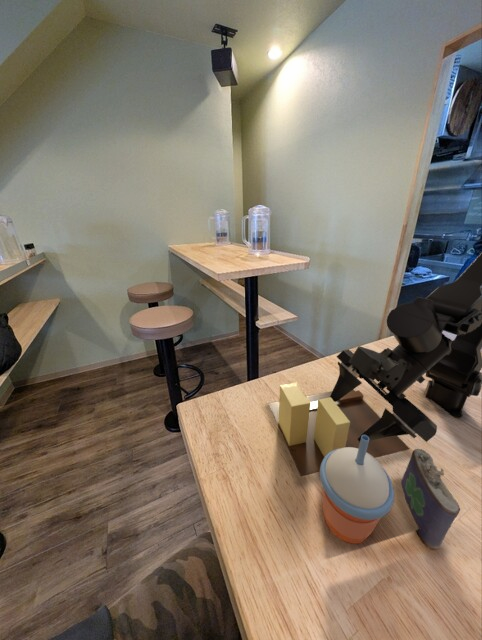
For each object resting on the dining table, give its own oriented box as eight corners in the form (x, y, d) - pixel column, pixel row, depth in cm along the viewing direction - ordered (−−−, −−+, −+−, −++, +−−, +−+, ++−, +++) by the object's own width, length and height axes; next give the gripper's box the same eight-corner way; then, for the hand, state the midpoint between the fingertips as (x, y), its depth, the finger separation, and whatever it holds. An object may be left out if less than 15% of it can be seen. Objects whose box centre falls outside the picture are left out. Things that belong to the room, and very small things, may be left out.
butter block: (294, 419, 54) (296, 382, 50) (306, 442, 49) (310, 403, 45) (278, 422, 54) (279, 385, 50) (289, 446, 48) (291, 406, 44)
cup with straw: (343, 576, 32) (368, 488, 25) (301, 506, 40) (310, 423, 33) (393, 540, 36) (428, 454, 28) (345, 482, 43) (363, 402, 36)
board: (350, 392, 64) (351, 387, 63) (408, 454, 48) (410, 448, 47) (268, 408, 60) (268, 403, 59) (300, 481, 44) (300, 476, 43)
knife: (357, 393, 61) (358, 389, 60) (363, 400, 59) (364, 396, 58) (300, 405, 58) (300, 401, 58) (304, 411, 56) (304, 407, 56)
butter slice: (325, 435, 50) (330, 397, 46) (342, 463, 45) (350, 422, 41) (313, 438, 50) (318, 399, 46) (329, 466, 44) (336, 424, 40)
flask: (443, 552, 34) (470, 504, 30) (420, 548, 35) (443, 501, 30) (412, 484, 43) (429, 439, 38) (393, 482, 43) (408, 437, 39)
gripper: (351, 311, 47) (294, 369, 50) (444, 368, 31) (350, 450, 33) (380, 341, 52) (326, 393, 55) (474, 405, 35) (389, 474, 38)
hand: (343, 420), depth 45 cm, fingers open, 9 cm apart
